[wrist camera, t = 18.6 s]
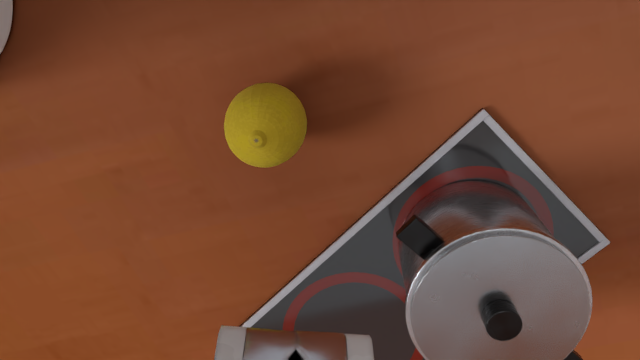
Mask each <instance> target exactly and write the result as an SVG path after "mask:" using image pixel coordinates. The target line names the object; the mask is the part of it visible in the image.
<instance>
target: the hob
mask: <svg viewBox="0 0 640 360" xmlns="http://www.w3.org/2000/svg"><path fill="white" fill-rule="evenodd" d="M462 181H486V182H492V183H495V184H499V185H501V186H504V187H506V188H508V189H510V190H512V191H513V192H515V193H516V194H518V195H519V196H520V197H522V198H523V199H524V200H525V202H526V203H527V204H528V205H529V206H530V207H531V209H532V210H533V211H534V212H535V214H536V215H537V216H538V218H539V219H540V220H541V221H542V223H543V224H544V225H545V226H546V228H547V229H548V230H549V232H550V233H551V234H552V235H553V237H554V238H555V239H556V240H558V241H559V242H560V243H562V244H563V245H564V246H566V247H567V248H568V249H569V250H570V251H571V252H572V253H573V254H574V255H575V257H576V258H577V259H578V261H579V262H580V263H581V264H583V263H584V262H585V261H587V260H588V259H589V258H591V257H592V256H593V255H595V254H596V253H597V252H599V251H600V250H601V249H603V248H604V247H605V246H607V245H608V244H609V243H610V241H609V240H608V239H607V238H606V237H605V236H604V235H603V234H602V233H601V232H600V231H599V230H598V229H597V227H596V226H595V225H594V224H593V223H592V222H591V221H590V220H589V219H588V218H587V217H586V216H585V215H584V214H583V213H582V212H581V211H580V210H579V209H578V207H577V206H576V205H575V204H574V203H573V202H572V201H571V200H570V199H569V198H568V197H567V196H566V195H565V194H564V193H563V192H562V191H561V190H560V189H559V187H558V186H557V185H556V184H555V183H554V182H553V181H552V180H551V179H550V178H549V177H548V176H547V175H546V174H545V173H544V172H543V171H542V170H541V169H540V167H539V166H538V165H537V164H536V163H535V162H534V161H533V160H532V159H531V158H530V157H529V156H528V155H527V154H526V153H525V152H524V151H523V150H522V149H521V147H520V146H519V145H518V144H517V143H516V142H515V141H514V140H513V139H512V138H511V137H510V136H509V135H508V134H507V133H506V132H505V131H504V130H503V129H502V127H501V126H500V125H499V124H498V123H497V122H496V121H495V120H494V119H493V118H492V117H491V116H490V115H489V114H488V113H487V112H486V111H485V110H484V109H483V108H482V109H481V110H479V111H478V112H477V113H476V114H475V115H474V116H473V117H472V118H471V119H469V120H468V121H467V122H466V123H465V124H464V125H463V126H462V127H461V128H459V129H458V130H457V131H456V132H455V133H454V134H453V135H452V136H451V137H449V138H448V139H447V140H446V141H445V142H444V143H443V144H442V145H440V146H439V147H438V148H437V149H436V150H435V151H434V152H433V153H432V154H430V155H429V156H428V157H427V158H426V159H425V160H424V161H423V162H422V163H420V164H419V165H418V166H417V167H416V168H415V169H414V170H413V171H412V172H410V173H409V174H408V175H407V176H406V177H405V178H404V179H403V180H402V181H400V182H399V183H398V184H397V185H396V186H395V187H394V188H393V189H392V190H390V191H389V192H388V193H387V194H386V195H385V196H384V197H383V198H382V199H380V200H379V201H378V202H377V203H376V204H375V205H374V206H373V207H372V208H370V209H369V210H368V211H367V212H366V213H365V214H364V215H363V216H362V217H360V218H359V219H358V220H357V221H356V222H355V223H354V224H353V225H351V226H350V227H349V228H348V229H347V230H346V231H345V232H344V233H343V234H341V235H340V236H339V237H338V238H337V239H336V240H335V241H334V242H333V243H331V244H330V245H329V246H328V247H327V248H326V249H325V250H324V251H323V252H321V253H320V254H319V255H318V256H317V257H316V258H315V259H314V260H313V261H311V262H310V263H309V264H308V265H307V266H306V267H305V268H304V269H303V270H301V271H300V272H299V273H298V274H297V275H296V276H295V277H294V278H293V279H291V280H290V281H289V282H288V283H287V284H286V285H285V286H284V287H283V288H281V289H280V290H279V291H278V292H277V293H276V294H275V295H274V296H272V297H271V298H270V299H269V300H268V301H267V302H266V303H265V304H264V305H262V306H261V307H260V308H259V309H258V310H257V311H256V312H255V313H254V314H252V315H251V316H250V317H249V318H248V319H247V320H246V321H245V322H244V323H242V324H241V325H240V326H239V327H250V328H261V329H272V330H283V331H294V332H296V331H313V332H334V333H344V334H360V335H370V337H371V339H372V345H373V354H374V360H426V359H425V358H424V357H423V356H422V355H421V354H420V353H419V351H418V350H417V348H416V347H415V345H414V343H413V342H412V339H411V337H410V335H409V332H408V328H407V324H406V317H405V300H406V291H405V285H404V280H403V274H402V268H401V262H400V256H399V239H398V238H397V237H396V232H397V231H398V230H399V229H400V228H401V227H402V226H403V224H404V222H405V220H406V219H407V217H408V215H409V214H410V212H411V211H412V209H413V208H414V207H415V206H416V205H417V204H418V203H419V202H420V201H421V200H422V199H423V198H425V197H426V196H427V195H429V194H430V193H432V192H433V191H435V190H437V189H439V188H441V187H444V186H447V185H449V184H452V183H457V182H462Z"/></svg>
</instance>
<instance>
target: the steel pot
mask: <svg viewBox="0 0 640 360" xmlns="http://www.w3.org/2000/svg"><path fill="white" fill-rule="evenodd" d="M396 237H397V238H398V239H399V256H400V262H401V268H402V274H403V280H404V285H405V291H406V300H405V317H406V324H407V328H408V332H409V335H410V337H411V339H412V342H413V343H414V345H415V347H416V348H417V350H418V351H419V353H420V354H421V355H422V356H423V357H424V358H425V359H426V360H583V359H582V358H581V356H580V355H579V354H578V353H577V352H576V351H574V350H573V349H574V348H575V347H576V345H577V344H578V342H579V341H580V340H581V338H582V336H583V334H584V332H585V331H586V329H587V326H588V323H589V320H590V316H591V311H592V291H591V285H590V282H589V279H588V276H587V274H586V272H585V270H584V268H583V266H582V265H581V263H580V262H579V261H578V259H577V258H576V257H575V255H574V254H573V253H572V252H571V251H570V250H569V249H568V248H567V247H566V246H564V245H563V244H562V243H560V242H559V241H558V240H556V239H555V238H554V237H553V235H552V234H551V233H550V232H549V230H548V229H547V228H546V226H545V225H544V224H543V223H542V221H541V220H540V219H539V218H538V216H537V215H536V214H535V212H534V211H533V210H532V209H531V207H530V206H529V205H528V204H527V203H526V202H525V200H524V199H523V198H522V197H520V196H519V195H518V194H516V193H515V192H513V191H512V190H510V189H508V188H506V187H504V186H501V185H499V184H495V183H492V182H486V181H462V182H457V183H452V184H449V185H447V186H444V187H441V188H439V189H437V190H435V191H433V192H432V193H430V194H429V195H427V196H426V197H425V198H423V199H422V200H421V201H420V202H419V203H418V204H417V205H416V206H415V207H414V208H413V209H412V211H411V212H410V214H409V215H408V217H407V219H406V220H405V222H404V224H403V226H402V227H401V228H400V229H399V230H398V231H397V232H396Z"/></svg>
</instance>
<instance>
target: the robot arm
mask: <svg viewBox="0 0 640 360" xmlns="http://www.w3.org/2000/svg"><path fill="white" fill-rule="evenodd" d="M12 15H13V0H0V54H1V52H2V51H3V49H4V47H5V44H6V42H7V39H8V36H9V33H10V29H11V24H12ZM214 360H374V354H373V345H372V339H371V337H370V335H360V334H344V333H334V332H313V331H296V332H294V331H283V330H272V329H261V328H250V327H236V326H222V325H221V328H220V331H219V334H218V340H217V346H216V352H215V358H214Z"/></svg>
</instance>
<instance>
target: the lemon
mask: <svg viewBox="0 0 640 360" xmlns="http://www.w3.org/2000/svg"><path fill="white" fill-rule="evenodd" d="M306 131H307V118H306V113H305V110H304V108H303V105H302V103H301V101H300V100H299V99H298V98H297V96H296V95H295V94H294V93H293V92H291V91H290V90H289V89H287V88H286V87H283V86H281V85H278V84H274V83H259V84H255V85H252V86H250V87H247V88H245V89H244V90H243V91H241V92H240V93H238V94H237V95H236V97H235V98H234V99H233V100H232V102H231V103H230V105H229V107H228V110H227V112H226V114H225V121H224V132H225V138H226V140H227V143H228V145H229V147H230V149H231V150H232V152H233V153H234V155H236V156H237V157H238V158H239V159H240V160H241V161H243V162H245V163H247V164H249V165H252V166H256V167H272V166H277V165H279V164H281V163H283V162H285V161H287V160H289V159H290V158H291V157H292V156H293V155H294V154H295V153H296V152H297V151H298V150H299V148H300V147H301V145H302V143H303V141H304V138H305V135H306Z"/></svg>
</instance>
